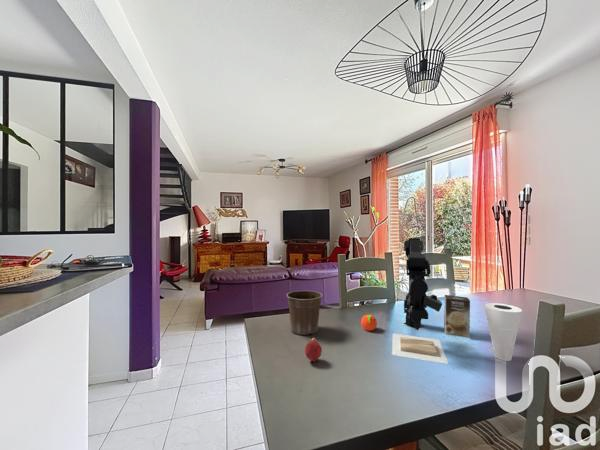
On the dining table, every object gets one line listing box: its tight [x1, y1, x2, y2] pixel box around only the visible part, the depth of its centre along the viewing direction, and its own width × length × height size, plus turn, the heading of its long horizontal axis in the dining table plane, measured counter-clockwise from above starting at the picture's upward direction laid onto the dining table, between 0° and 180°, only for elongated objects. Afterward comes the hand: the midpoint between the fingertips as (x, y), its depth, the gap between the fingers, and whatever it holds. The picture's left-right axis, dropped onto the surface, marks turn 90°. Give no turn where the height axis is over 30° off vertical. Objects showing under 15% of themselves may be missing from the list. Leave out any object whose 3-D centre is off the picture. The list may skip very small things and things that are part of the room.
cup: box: [484, 302, 523, 362], centre depth 94 cm, size 11×11×18 cm
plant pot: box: [286, 290, 323, 336], centre depth 119 cm, size 16×16×16 cm
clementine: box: [360, 314, 378, 332], centre depth 118 cm, size 8×7×7 cm
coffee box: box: [443, 294, 471, 339], centre depth 114 cm, size 9×6×16 cm
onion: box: [304, 337, 323, 362], centre depth 91 cm, size 6×6×8 cm
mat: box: [391, 333, 449, 365], centre depth 101 cm, size 20×18×1 cm
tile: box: [400, 337, 437, 356], centre depth 100 cm, size 2×12×9 cm
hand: (417, 329), depth 101 cm, fingers closed
